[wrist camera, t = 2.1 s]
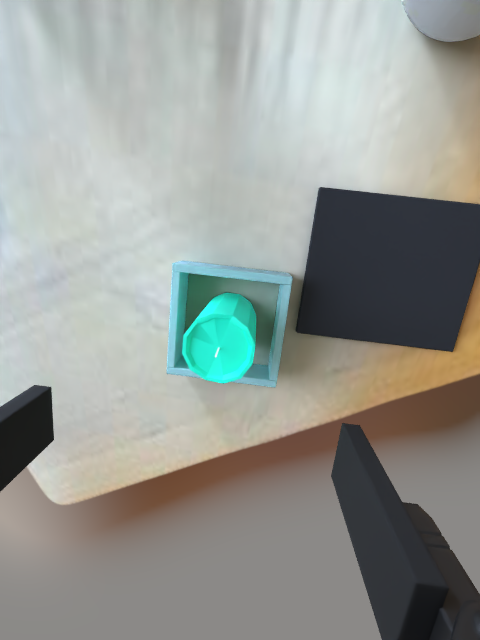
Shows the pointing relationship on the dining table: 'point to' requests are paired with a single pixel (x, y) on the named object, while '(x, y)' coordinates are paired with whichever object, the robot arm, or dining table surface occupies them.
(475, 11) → the teacup
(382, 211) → the mat
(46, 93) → the dining table surface
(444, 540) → the robot arm
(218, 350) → the candle
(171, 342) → the tub
